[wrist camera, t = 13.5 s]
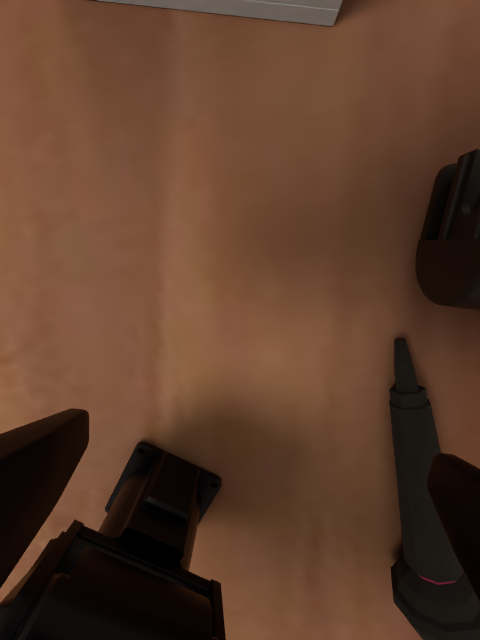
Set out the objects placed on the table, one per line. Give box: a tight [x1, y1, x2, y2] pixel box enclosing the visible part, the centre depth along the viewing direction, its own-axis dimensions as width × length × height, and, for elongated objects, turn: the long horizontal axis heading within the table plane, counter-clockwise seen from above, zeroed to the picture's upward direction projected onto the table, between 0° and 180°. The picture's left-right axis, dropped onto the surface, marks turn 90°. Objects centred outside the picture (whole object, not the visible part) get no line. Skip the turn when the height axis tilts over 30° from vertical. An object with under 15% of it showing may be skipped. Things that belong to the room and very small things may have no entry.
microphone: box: [389, 338, 480, 640], centre depth 20 cm, size 6×6×20 cm
